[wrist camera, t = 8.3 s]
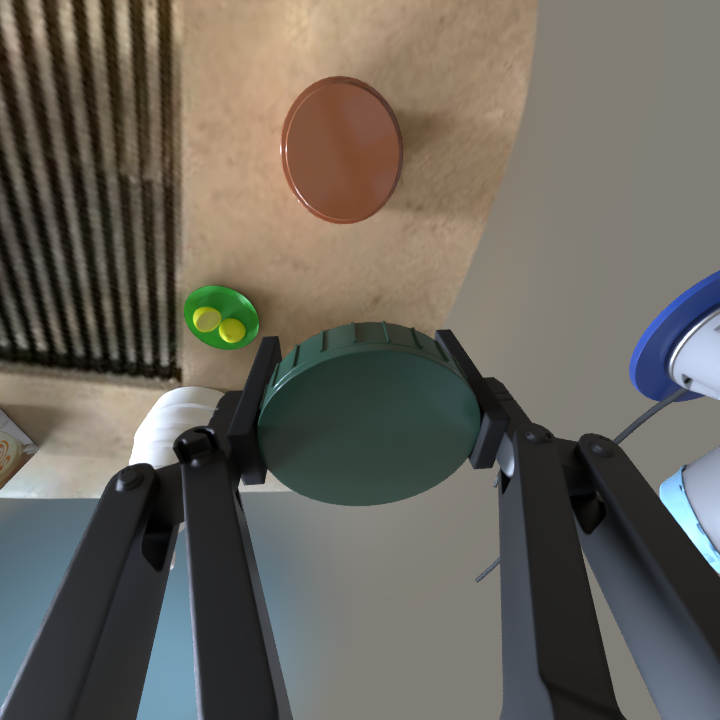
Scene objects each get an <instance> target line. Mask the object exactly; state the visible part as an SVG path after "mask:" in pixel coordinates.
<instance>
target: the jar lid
mask: <svg viewBox="0 0 720 720" xmlns="http://www.w3.org/2000/svg"><path fill="white" fill-rule="evenodd" d="M466 379H467V376H466V375H465V373H464V371H463V370H462V368H461V366H460V365H459V363H458V362H457V360H456V358H455V357H454V356H453V357H452V356H451V355H450V354H449V353H448V352H447V351H446V349H445V348H444V347H442V346H441V344H440V342H439V341H438V340H437V339H436V340H433V339H432V338H430V337H429V336H427V335H425V334H423V333H421V332H419V331H416V330H415V328H414V327H412V328H408V327H404V326H401V325H397V324H390V323H386V321H383V322H363V323H354V322H351V324H348V325H343V326H338V327H335V328H332V329H329V330H326V331H324V330H322V331H321V333H319V334H317V335H315V336H313V337H311V338H309V339H307V340H306V341H304V342H303V343H301V344H300V345H295V348H294V349H293V350H292V351H291V352H290V353H289V354H288V355H287V356H286V357H285V358H284V359H283V360H282V362H281V363H280V364H279V363H277V365H276V368H275V372H274V373H273V375H272V378H271V380H270V382H269V384H266V387H265V391H264V394H263V398H262V401H261V404H260V408H259V409H262V410H261V413H260V417H259V421H258V426H257V444H258V447H259V451H260V454H261V458H262V460H263V462H264V464H265V465H266V467H267V469H268V470H269V471H270V472H271V473H272V474H273V476H274V477H275V478H277V479H278V480H279V481H280V482H281V483H282V484H284V485H285V486H287V487H288V488H290V489H291V490H293V491H295V492H297V493H299V494H301V495H303V496H306V497H308V498H311V499H314V500H317V501H321V502H325V503H330V504H336V505H344V506H370V505H379V504H386V503H391V502H396V501H399V500H403V499H406V498H409V497H412V496H415V495H418V494H420V493H422V492H424V491H427V490H429V489H430V488H432V487H434V486H436V485H438V484H439V483H441V482H442V481H444V480H445V479H447V478H448V477H449V476H450V475H452V474H453V473H454V472H455V471H456V470H457V469H458V468H459V467H460V466H461V465H462V464H463V463H464V462H465V460H466V459H467V458H468V457H469V455H470V453H471V452H472V450H473V448H474V446H475V444H476V441H477V438H478V435H479V431H480V424H481V415H480V408H479V405H478V402H477V399H476V395H475V394H474V392H473V390H472V389H471V387H470V385H469V384H468V382H467V380H466Z"/></svg>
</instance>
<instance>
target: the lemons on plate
mask: <svg viewBox="0 0 720 720" xmlns="http://www.w3.org/2000/svg"><path fill="white" fill-rule="evenodd" d="M184 317H185V321H186V323H187V325H188V327H189V329H190V330H191V332H192V333H193V334H194V335H195V336H196V337H197V338H198V339H200V340H201V341H202V342H204V343H206V344H208V345H210V346H212V347H215V348H219V349H224V350H233V349H239V348H242V347H244V346H246V345H248V344H249V343H250V342H252V341H253V339H254V338H255V337H256V335H257V332H258V328H259V319H258V316H257V313H256V311H255V309H254V307H253V306H252V304H251V303H250V302H249V301H248V300H247V299H246V298H245V297H244V296H243V295H241V294H240V293H238V292H236V291H234V290H232V289H230V288H226V287H222V286H206V287H202V288H199V289H197V290H196V291H194V292H193V293H192V294H191V295H190V296H189V297H188V299H187V300H186V302H185V306H184Z"/></svg>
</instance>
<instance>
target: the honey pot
mask: <svg viewBox="0 0 720 720" xmlns="http://www.w3.org/2000/svg"><path fill="white" fill-rule="evenodd" d="M224 395H225V394H224V393H222V392H220V391H218V390H214V389H210V388H206V387H194V386H189V387H182V388H177V389H174V390H172V391H169V392H167V393H166V394H164V395H163V396H162V397H161V398H159V400H158V401H157V403H156V404H155V405H154V407H153V408H152V410H151V411H150V413H149V414H148V415H147V417H146V419H145V420H144V422H143V423H142V425H141V426H140V427H139V429H138V431H137V433H136V435H135V438H134V448H133V451H132V457H131V458H130V461H129V466H130V465H133V464H136V463H148V464H151V465H152V466H153V468H154V469H155V470H156V469H159V468H162V467H165V466H168V465H172V464H175V463H177V462H179V460H178V458H177V456H176V454H175V452H174V451H173V449H172V448H173V444H174V441H175V440H176V439H177V437H178V436H179V435H181V434H182V433H183V432H185V431H186V430H188V429H191V428H193V427H197V426H208V424H209V421H210V419H211V418H212V415H213V413H214V410H215V408H216V406H217V404H218V402H219V399H220V398H222V397H223V396H224ZM184 528H185V522H183V523H180V526H179V531H178V533H179V532H180V531H181V530H183V529H184ZM175 557H176V553H175V549H174V553H173V558H172V562H171V567H170V570H172V569H173V567H174V563H175Z"/></svg>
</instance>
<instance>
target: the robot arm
mask: <svg viewBox="0 0 720 720" xmlns="http://www.w3.org/2000/svg"><path fill="white" fill-rule="evenodd" d="M436 339H437V340H438V341H439V342H440V344H441V346H442V347H444V348H445V349H446V351H447V352H448V353H449V354H450V355H451V356H452V357H453V356H454V357H455V358H456V360H457V362H458V363H459V365H460V366H461V368H462V370H463V371H464V373H465V375H466V376H467V379H466V380H467V382H468V384H469V385H470V387H471V389H472V390H473V392H474V394H475V395H476V399H477V402H478V405H479V408H480V415H481V424H480V431H479V435H478V438H477V441H476V444H475V446H474V448H473V450H472V452H471V453H470V455H469V457H468V458H469V460H470V462H471V465H472V467H473V469H485V468H492V467H493V464H494V462H495V459H497V461H498V463H499V465H500V470H499V472H498V475H497V477H496V480H495V482H494V486H493V487H497V485H498V493H499V534H500V557H499V558H498V559H497V560H496V561H495V562H494V563H493V564H492V565H491V566H490V567H489V568H488V569H486V570H485V571H484V572H483V573H482V574H481V575H480V576H479V577H477V579H476V582H479V581H480V580H481V579H483V578H484V577H485V576H486V575H487V574H488V573H489V572H491V571H492V570H493V569H494V568H495V567H496V566H497V565H498V564H499V563H500V577H501V619H502V663H503V706H502V712H501V716H500V720H627V719H626V718H625V717H624V716H623V715H622V713H621V711H620V709H619V707H618V705H617V702H616V698H615V694H614V690H613V685H612V681H611V677H610V672H609V668H608V664H607V660H606V655H605V651H604V646H603V642H602V637H601V633H600V629H599V624H598V620H597V616H596V611H595V608H594V603H593V599H592V594H591V590H590V585H589V581H588V577H587V572H586V568H585V564H584V559H583V555H582V551H581V547H582V549H583V552H584V554H585V556H586V558H587V560H588V562H589V564H590V567H591V569H592V571H593V573H594V575H595V577H596V579H597V582H598V584H599V586H600V588H601V590H602V592H603V594H604V597H605V599H606V601H607V603H608V605H609V607H610V609H611V611H612V614H613V616H614V618H615V620H616V622H617V624H618V626H619V628H620V631H621V633H622V635H623V637H624V639H625V641H626V644H627V646H628V648H629V650H630V652H631V654H632V656H633V658H634V661H635V663H636V665H637V667H638V669H639V671H640V673H641V676H642V678H643V680H644V682H645V684H646V686H647V688H648V691H649V693H650V695H651V697H652V699H653V701H654V703H655V705H656V708H657V710H658V712H659V714H660V716H661V718H662V720H720V577H719V576H718V574H717V573H716V572H715V571H714V569H715V570H716V571H717V572H719V573H720V446H719V447H717V448H715V449H714V450H712V451H710V452H709V453H707V454H705V455H704V456H702V457H700V458H699V459H697V460H695V461H694V462H692V463H690V464H689V465H684V466H682V467H681V468H680V469H679V472H677V473H676V474H674V475H673V476H671V477H670V478H668V479H667V480H666V481H664V482H663V483H662V484H661V486H660V498H659V497H658V496H657V494H656V493H655V492H654V490H653V489H652V488H651V486H650V485H649V484H648V482H647V481H646V480H645V479H644V477H643V476H642V475H641V473H640V472H639V471H638V469H637V468H636V467H635V465H634V464H633V463H632V461H631V460H630V459H629V458H628V456H627V455H626V454H625V452H624V451H623V450H622V449H621V448H620V447H619V446H618V444H619V443H620V442H621V441H623V440H624V439H625V438H626V437H627V436H628V435H629V434H631V433H632V432H633V431H634V430H635V429H636V428H638V427H639V426H640V425H641V424H642V423H644V422H645V421H646V420H647V419H649V418H650V417H651V416H652V415H654V414H655V413H656V412H658V411H659V410H661V409H662V408H663V407H665V406H667V405H668V404H670V403H672V402H673V401H675V400H676V399H678V398H679V397H681V396H682V395H683V394H685V393H686V392H688V391H689V390H691V391H694V392H697V393H700V394H703V395H706V396H709V397H713V398H716V399H719V400H720V302H718V303H717V304H715V305H713V306H712V307H710V308H709V309H707V310H706V311H704V312H703V313H701V314H700V315H699V316H698V317H696V318H695V319H694V320H693V321H691V322H690V323H689V324H688V325H687V326H686V327H685V328H684V329H683V330H682V331H681V332H680V334H679V335H678V336H677V337H676V338H675V340H674V341H673V343H672V344H671V346H670V348H669V349H668V351H667V354H666V356H665V360H664V371H665V374H666V375H667V377H668V378H669V379H671V380H672V381H674V382H675V383H677V384H678V385H680V386H682V387H681V388H680V389H678V390H677V391H675V392H674V393H673V394H671V395H670V396H668V397H667V398H665V399H664V400H662V401H661V402H659V403H658V404H656V405H655V406H653V407H652V408H651V409H649V410H648V411H647V412H646V413H644V414H643V415H642V416H641V417H639V418H638V419H637V420H636V421H635V422H633V423H632V424H631V425H630V426H629V427H628V428H626V429H625V430H624V431H623V432H622V433H621V434H620V435H619V436H617V437H616V438H615V439H614V440H613V441H612V440H610V439H609V438H606V437H604V436H601V435H598V434H593V433H591V434H584V435H583V436H581V438H580V439H579V441H578V442H576V441H571V440H565V439H559V438H556V437H554V435H553V434H552V433H551V432H550V431H549V430H548V429H546V428H544V427H543V426H541V425H538V424H535V423H532V422H531V421H530V419H529V418H528V417H527V415H526V414H525V413H524V411H523V410H522V409H521V407H520V406H519V405H518V403H517V402H516V401H515V400H514V398H513V397H512V396H511V394H509V391H508V390H507V389H506V387H505V386H504V385H503V384H502V383H501V382H499V381H498V380H496V379H495V378H494V377H489V378H483V377H482V376H481V374H480V373H479V371H478V370H477V368H476V367H475V365H474V364H473V362H472V361H471V359H470V358H469V356H468V355H467V353H466V352H465V351H464V349H463V348H462V346H461V345H460V343H459V342H458V340H457V339H456V337H455V336H454V334H453V333H452V331H451V330H449V329H448V330H436V334H435V340H436ZM281 362H282V354H281V349H280V343H279V337H278V336H269V337H263V339H262V341H261V344H260V347H259V349H258V352H257V355H256V357H255V360H254V363H253V365H252V368H251V371H250V373H249V376H248V379H247V381H246V384H245V387H244V389H243V391H228V392H227V393H226V394H225V395H224V396H223V397H222V398H220V399H219V402H218V404H217V406H216V408H215V410H214V413H213V415H212V418H211V419H210V421H209V424H208V426H197V427H193V428H191V429H188V430H186V431H185V432H183V433H182V434H181V435H179V436H178V437H177V439H176V440H175V441H174V444H173V448H172V449H173V451H174V452H175V454H176V456H177V458H178V460H179V462H177V463H175V464H172V465H168V466H165V467H162V468H159V469H156V470H155V469H154V468H153V466H152V465H151V464H148V463H136V464H133V465H130V466H127V467H126V468H124V469H122V470H120V471H119V472H118V473H117V474H115V475H114V476H113V477H112V478H111V479H110V481H109V482H108V484H107V485H106V487H105V490H104V492H103V494H102V496H101V498H100V500H99V502H98V504H97V507H96V509H95V511H94V513H93V515H92V517H91V519H90V521H89V523H88V526H87V528H86V530H85V532H84V534H83V536H82V538H81V541H80V542H79V545H78V547H77V549H76V551H75V553H74V555H73V557H72V559H71V561H70V564H69V566H68V568H67V570H66V572H65V574H64V576H63V578H62V580H61V582H60V585H59V587H58V589H57V591H56V593H55V595H54V597H53V599H52V602H51V604H50V606H49V608H48V610H47V612H46V614H45V616H44V619H43V620H42V623H41V625H40V627H39V629H38V631H37V633H36V635H35V638H34V640H33V642H32V644H31V646H30V648H29V650H28V652H27V654H26V656H25V658H24V661H23V663H22V665H21V667H20V669H19V671H18V673H17V675H16V678H15V680H14V682H13V684H12V686H11V688H10V690H9V692H8V694H7V697H6V699H5V701H4V703H3V705H2V707H1V709H0V720H136V718H137V713H138V709H139V704H140V700H141V695H142V691H143V686H144V682H145V677H146V673H147V669H148V664H149V660H150V656H151V651H152V647H153V642H154V638H155V633H156V629H157V624H158V620H159V615H160V611H161V607H162V602H163V597H164V593H165V589H166V584H167V580H168V575H169V571H170V567H171V562H172V558H173V553H174V548H175V544H176V540H177V535H178V531H179V526H180V523H183V522H185V532H186V548H187V561H188V562H187V563H188V578H189V594H190V608H191V623H192V638H193V654H194V669H195V683H196V699H197V714H198V720H293V717H292V713H291V709H290V705H289V700H288V696H287V691H286V687H285V683H284V679H283V674H282V670H281V666H280V662H279V657H278V653H277V649H276V645H275V640H274V636H273V632H272V627H271V624H270V619H269V615H268V611H267V606H266V602H265V598H264V594H263V589H262V585H261V581H260V576H259V572H258V568H257V564H256V559H255V555H254V551H253V547H252V543H251V538H250V534H249V530H248V525H247V521H246V517H245V513H244V509H243V504H242V500H241V496H240V492H239V490H238V486H239V482H240V478H242V481H243V484H244V485H256V484H264V483H265V478H266V473H267V467H266V465H265V464H264V462H263V460H262V458H261V454H260V451H259V447H258V444H257V426H258V421H259V417H260V413H261V410H262V409H259V408H260V404H261V401H262V398H263V394H264V391H265V387H266V384H269V382H270V380H271V378H272V375H273V373H274V372H275V368H276V365H277V363H279V364H280V363H281ZM580 545H581V546H580ZM712 567H713V568H714V569H713V568H712Z"/></svg>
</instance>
